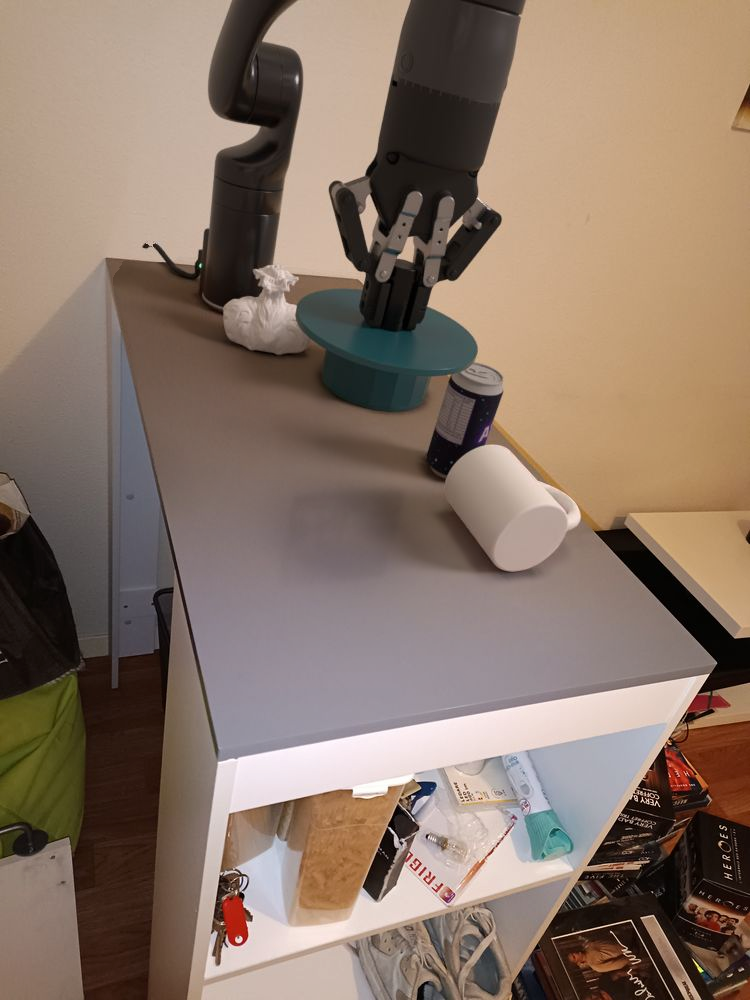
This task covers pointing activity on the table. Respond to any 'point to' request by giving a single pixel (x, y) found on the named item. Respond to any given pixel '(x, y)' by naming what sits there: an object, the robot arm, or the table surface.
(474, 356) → the lid
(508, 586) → the table surface
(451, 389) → the beverage can
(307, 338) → the white tied bag
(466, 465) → the mug
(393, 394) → the pot
